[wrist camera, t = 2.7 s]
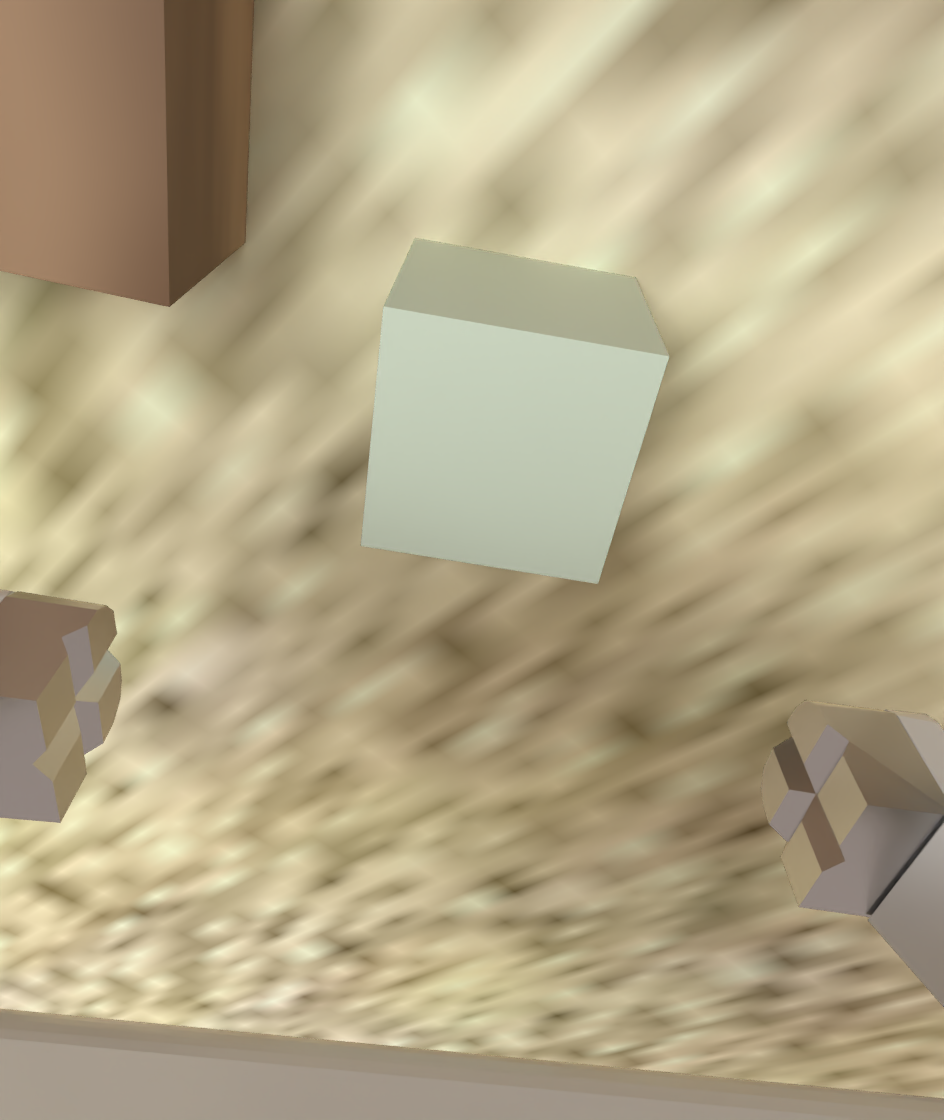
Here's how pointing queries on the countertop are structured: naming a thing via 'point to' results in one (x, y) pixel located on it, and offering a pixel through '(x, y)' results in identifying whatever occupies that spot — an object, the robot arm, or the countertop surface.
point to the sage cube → (508, 410)
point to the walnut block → (124, 141)
